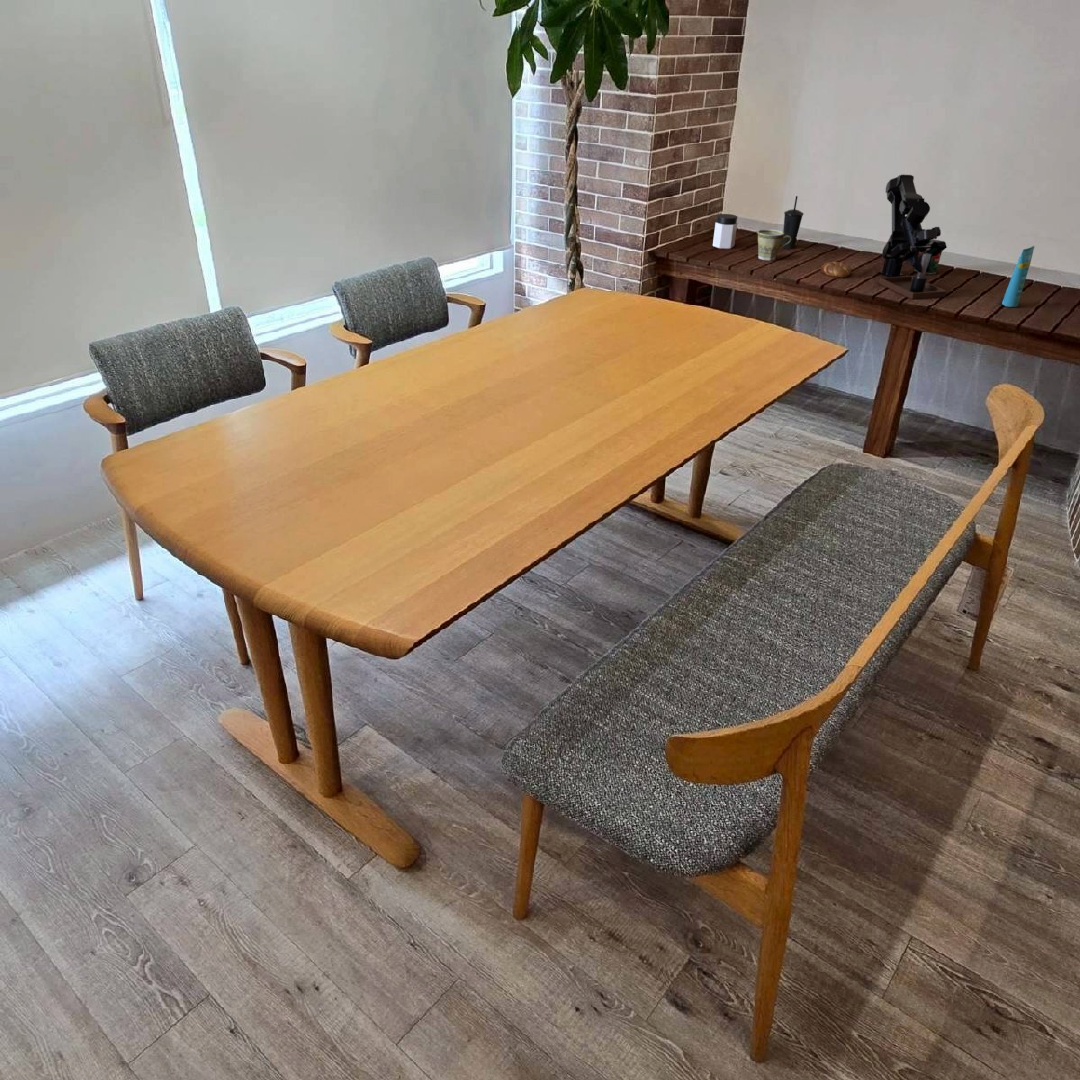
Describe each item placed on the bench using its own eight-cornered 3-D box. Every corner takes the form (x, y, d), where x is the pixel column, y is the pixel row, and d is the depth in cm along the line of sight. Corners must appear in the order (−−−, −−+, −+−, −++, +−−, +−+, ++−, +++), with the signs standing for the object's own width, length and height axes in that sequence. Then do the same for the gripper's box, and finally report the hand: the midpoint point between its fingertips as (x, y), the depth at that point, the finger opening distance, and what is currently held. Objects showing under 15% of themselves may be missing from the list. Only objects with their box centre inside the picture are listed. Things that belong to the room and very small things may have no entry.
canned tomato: (938, 274, 314) (946, 244, 308) (916, 273, 316) (923, 243, 310) (934, 269, 321) (942, 239, 315) (912, 267, 322) (920, 238, 316)
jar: (732, 244, 349) (736, 214, 343) (735, 249, 342) (740, 218, 336) (711, 243, 349) (715, 213, 343) (713, 248, 343) (717, 217, 336)
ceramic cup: (753, 260, 328) (757, 234, 322) (755, 254, 336) (758, 228, 330) (786, 263, 325) (791, 236, 319) (788, 257, 333) (792, 231, 327)
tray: (878, 283, 304) (879, 277, 303) (910, 281, 307) (912, 275, 306) (911, 299, 288) (913, 293, 287) (945, 296, 291) (947, 291, 290)
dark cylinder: (907, 289, 296) (917, 252, 289) (918, 288, 297) (928, 251, 290) (915, 293, 293) (925, 255, 285) (925, 292, 294) (936, 254, 286)
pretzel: (855, 278, 308) (858, 268, 306) (826, 278, 308) (828, 268, 306) (845, 269, 318) (847, 259, 316) (817, 269, 318) (819, 259, 316)
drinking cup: (799, 249, 343) (808, 198, 332) (780, 249, 343) (789, 198, 332) (794, 245, 349) (803, 194, 338) (776, 244, 349) (785, 194, 338)
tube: (1012, 309, 280) (1032, 250, 270) (998, 305, 283) (1016, 247, 273) (1021, 304, 285) (1040, 246, 274) (1006, 301, 288) (1025, 244, 277)
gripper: (904, 219, 283) (915, 261, 280) (951, 216, 287) (963, 258, 284) (884, 237, 294) (895, 278, 291) (930, 234, 298) (941, 274, 295)
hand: (924, 271), depth 290 cm, fingers closed on dark cylinder, 3 cm apart
